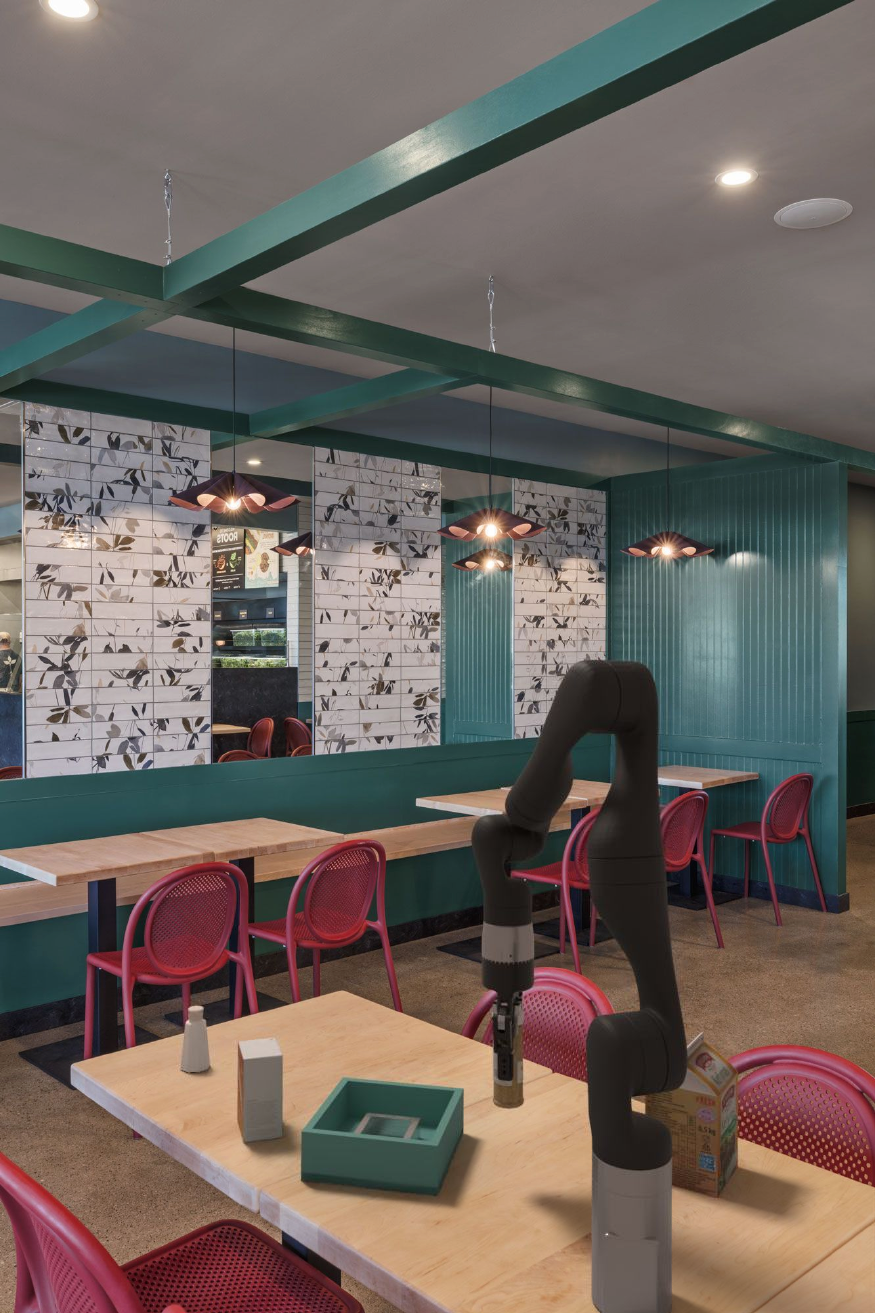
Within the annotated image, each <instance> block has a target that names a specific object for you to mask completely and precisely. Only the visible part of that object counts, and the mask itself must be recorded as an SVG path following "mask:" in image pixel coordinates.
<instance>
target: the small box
mask: <svg viewBox="0 0 875 1313" xmlns="http://www.w3.org/2000/svg"><path fill="white" fill-rule="evenodd" d="M283 1055H284V1054H283V1053H282V1050H281V1046H280V1044H279V1042H278V1040H277V1038H276V1037H270V1038H269V1037H268V1038H257V1039H249V1040H248V1039H247V1040H240V1041H237V1101H236V1102H237V1109H236V1112H237V1113H236V1114H237V1115H236V1116H237V1117H236V1120H237V1124H238V1126H239V1130H240V1134H241V1139H242V1142H243V1143H250V1142H257V1141H264V1140H273V1139H279V1138H283V1130H284V1128H283V1123H284V1122H283V1120H284V1119H283V1113H284V1112H283V1110H284V1109H283V1106H284V1105H283V1103H284V1102H283V1101H284V1100H283V1099H284V1097H283V1096H284V1095H283V1092H284V1091H283V1089H284V1087H283V1084H284V1083H283V1081H284V1080H283V1078H284V1077H283V1076H284V1074H283V1073H284V1071H283V1069H284V1068H283V1067H284V1065H283V1064H284V1063H283V1062H284V1061H283V1059H284V1058H283V1057H284V1056H283Z"/></svg>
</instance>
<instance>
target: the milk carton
mask: <svg viewBox="0 0 875 1313" xmlns="http://www.w3.org/2000/svg"><path fill="white" fill-rule="evenodd" d="M704 1034H705V1033H704V1032H703V1031H702V1032H700V1033H699V1034H698V1035H697V1036H696V1037H695V1038H694V1039H693V1040H692V1041H691V1042H690V1043H689V1044H688V1045H687V1055H688V1064H687V1073H686V1077H685V1080H684V1082H683V1084H682V1085H681V1086H680V1087H679V1088H678V1089H676V1090H673V1091H669V1092H663V1093H658V1094H650V1095H644V1101H645V1102H644V1114H647V1115H649V1116H652V1117H654V1118H656V1119H657V1120H659V1121H661V1122H662V1123H663V1124H665V1125H666V1126H667V1127H668V1129H669V1131H670V1133H671V1136H672V1187H676V1188H679V1189H683V1190H686V1191H690V1192H694V1193H697V1194H701V1195H705V1196H709V1197H712V1198H716V1199H719V1197H720V1195H722V1194H721V1193H722V1192H723V1191H724V1189H725V1187H726V1186H727V1184H728V1183H729V1181H730V1180H731V1178H732V1177H733V1175H734V1173H736V1172H735V1171H737V1168H739V1167H738V1166H739V1164H738V1163H739V1162H738V1161H739V1153H738V1152H739V1145H738V1144H739V1071H738V1070H737V1069H736V1067H734V1065H733V1064H732V1063H731V1062H730V1061H729V1060H728V1059H727V1058H726V1057H724V1055H722V1054H721V1053H720V1052H719V1051H718V1050H716V1049H715V1048H714V1047H712V1046H711V1045H710V1044H708V1043H707V1042H706V1041H705V1035H704Z"/></svg>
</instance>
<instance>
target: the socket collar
mask: <svg viewBox="0 0 875 1313" xmlns="http://www.w3.org/2000/svg"><path fill="white" fill-rule="evenodd" d="M354 1133H358V1134H368V1135H377V1136H387V1137H396V1138H406V1139H415V1140H420V1136H421V1118H414V1117H404V1116H394V1115H385V1114H375V1113H366V1115H365V1117H364V1118H363V1120H362V1121H361V1123H360V1124H359V1126H358V1127H357V1129H356V1130H355V1132H354Z"/></svg>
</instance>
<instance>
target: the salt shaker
mask: <svg viewBox="0 0 875 1313" xmlns="http://www.w3.org/2000/svg"><path fill="white" fill-rule="evenodd" d="M204 1009H205V1008H204V1006H201V1005H191V1006H189V1008H187V1012H188V1014H187V1015H188V1020H186V1022H185V1025H184V1032H183V1044H182V1051H181V1060H180V1067H179V1068H180V1070H181V1069H182V1070H183V1071H182V1070H181V1071H182V1072H184V1071H186V1072H188V1073H187V1074H191V1073H190V1072H199V1073H202V1072H204V1070H205V1071H208V1070H207V1069H209V1068H210V1067H211V1061H210V1050H209V1049H210V1048H209V1040H208V1039H209V1038H208V1030H207V1027H208V1026H207V1020H206V1019H204V1017H203V1016H204ZM201 1071H202V1072H201ZM186 1072H185V1073H186Z"/></svg>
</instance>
